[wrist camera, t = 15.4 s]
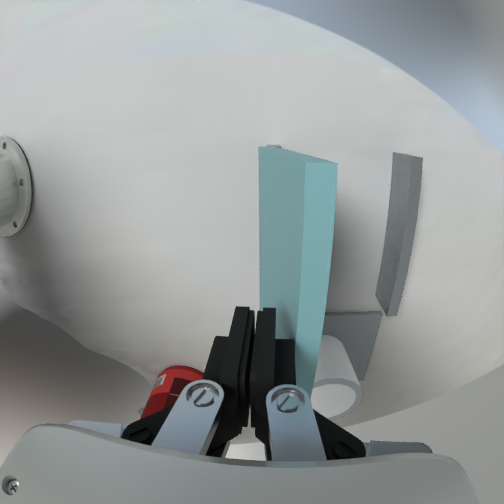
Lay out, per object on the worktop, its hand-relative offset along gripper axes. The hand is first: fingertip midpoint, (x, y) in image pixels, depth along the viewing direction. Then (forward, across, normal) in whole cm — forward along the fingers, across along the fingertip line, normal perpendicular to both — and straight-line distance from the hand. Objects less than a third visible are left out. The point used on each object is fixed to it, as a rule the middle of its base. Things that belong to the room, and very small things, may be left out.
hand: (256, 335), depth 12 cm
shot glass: (+15, -6, +14) cm, 21 cm away
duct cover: (+5, -2, 0) cm, 5 cm away
